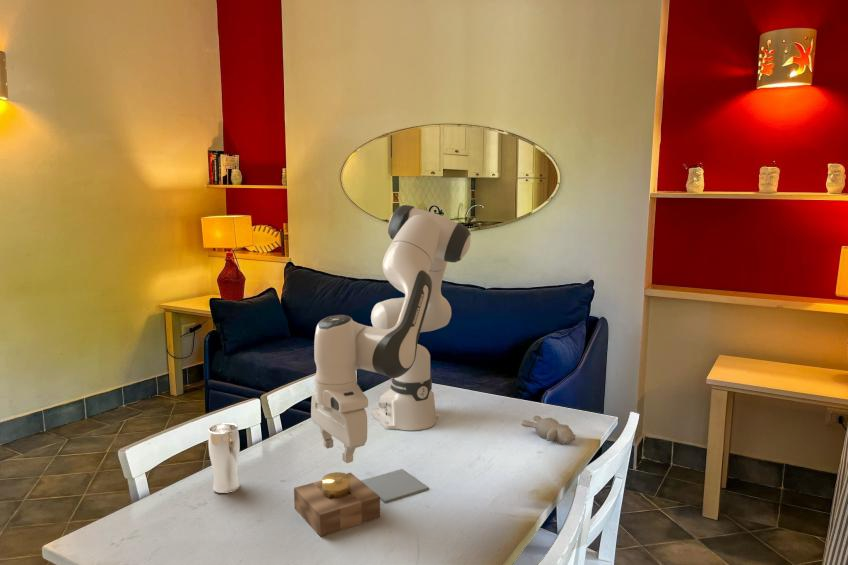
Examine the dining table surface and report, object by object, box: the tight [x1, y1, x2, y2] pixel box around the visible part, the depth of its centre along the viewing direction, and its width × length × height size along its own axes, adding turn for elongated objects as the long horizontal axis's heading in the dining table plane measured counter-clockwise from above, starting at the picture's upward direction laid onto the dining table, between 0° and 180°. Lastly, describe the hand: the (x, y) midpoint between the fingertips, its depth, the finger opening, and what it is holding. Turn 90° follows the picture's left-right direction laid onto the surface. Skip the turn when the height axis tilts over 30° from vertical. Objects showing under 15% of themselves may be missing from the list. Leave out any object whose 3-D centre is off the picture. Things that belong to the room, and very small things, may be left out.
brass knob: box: [321, 471, 350, 500], centre depth 137 cm, size 6×6×8 cm
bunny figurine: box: [521, 415, 576, 445], centre depth 179 cm, size 10×5×15 cm
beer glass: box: [207, 422, 241, 493], centre depth 147 cm, size 7×7×15 cm
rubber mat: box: [360, 468, 430, 504], centre depth 150 cm, size 12×12×1 cm
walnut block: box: [293, 472, 381, 538], centre depth 137 cm, size 14×14×5 cm
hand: (337, 454), depth 135 cm, fingers open, 8 cm apart
